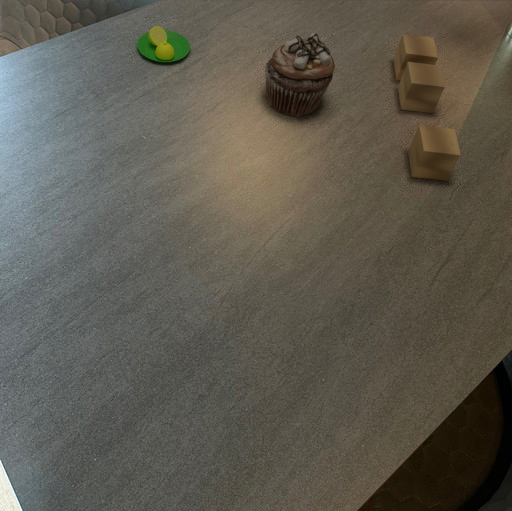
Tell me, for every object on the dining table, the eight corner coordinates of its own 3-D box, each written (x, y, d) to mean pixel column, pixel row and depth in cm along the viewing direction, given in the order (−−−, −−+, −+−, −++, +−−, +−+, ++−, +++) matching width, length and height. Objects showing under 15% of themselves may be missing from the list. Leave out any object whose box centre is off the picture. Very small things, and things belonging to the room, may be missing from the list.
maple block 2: (428, 92, 98) (440, 65, 94) (433, 113, 95) (445, 86, 91) (397, 88, 97) (407, 61, 93) (400, 109, 94) (411, 82, 90)
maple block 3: (441, 155, 89) (454, 129, 85) (446, 181, 86) (460, 155, 82) (407, 151, 89) (419, 124, 85) (411, 177, 86) (423, 150, 82)
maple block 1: (423, 64, 102) (433, 37, 98) (427, 84, 99) (438, 57, 95) (393, 60, 102) (402, 33, 98) (396, 80, 99) (406, 53, 95)
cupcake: (301, 71, 97) (313, 13, 89) (337, 110, 92) (354, 52, 84) (248, 87, 93) (256, 27, 85) (283, 128, 89) (296, 69, 81)
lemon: (125, 47, 95) (125, 30, 93) (163, 27, 99) (163, 11, 97) (163, 72, 93) (163, 56, 90) (200, 50, 97) (201, 34, 95)
